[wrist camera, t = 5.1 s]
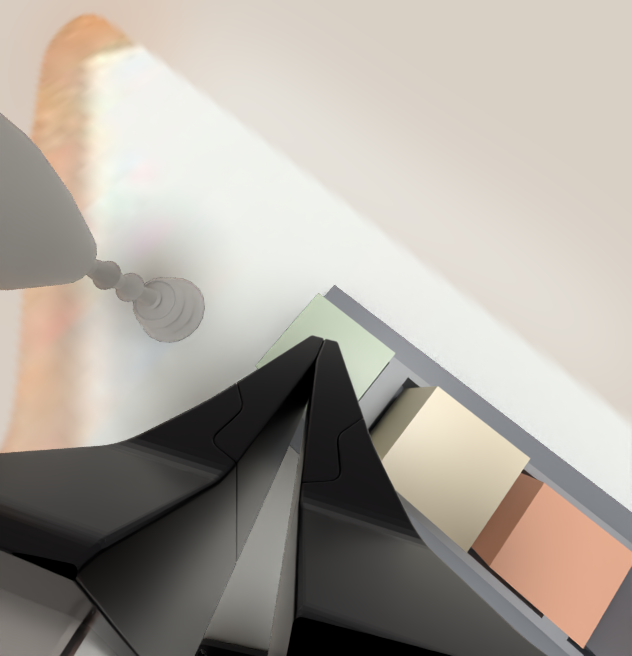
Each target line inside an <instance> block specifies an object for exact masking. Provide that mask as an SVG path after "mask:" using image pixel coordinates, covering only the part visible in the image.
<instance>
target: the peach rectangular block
mask: <svg viewBox="0 0 632 656" xmlns="http://www.w3.org/2000/svg"><path fill="white" fill-rule="evenodd" d="M471 547H472V548H473V549H474V550H475V551H476V553H477V554H478V555H479V556H480V557H481V558H482V559H483V560H484V561H485V562H486V564H487V565H488V566H489V567H490V568H491V569H493V570H494V571H495V572H496V573H497V574H498V575H499V576H501V577H502V578H503V579H504V580H505V581H506V582H507V583H509V584H510V585H511V586H512V587H513V588H514V589H515V590H517V591H518V592H519V593H520V594H521V595H522V596H523V597H525V598H526V599H527V600H528V601H529V602H530V603H531V604H533V605H534V606H535V607H536V608H537V609H538V610H539V611H541V612H542V613H543V614H544V615H545V616H546V617H547V618H549V619H550V620H551V621H552V622H553V623H554V624H555V625H557V626H558V627H559V628H560V629H561V630H562V631H563V632H564V633H566V634H567V635H568V636H569V637H570V638H571V639H572V640H574V641H575V642H576V643H577V644H578V645H579V646H580V647H582V648H584V647H585V645H586V643H587V641H588V640H589V638H590V636H591V635H592V633H593V631H594V629H595V628H596V626H597V624H598V623H599V621H600V619H601V618H602V616H603V614H604V612H605V611H606V609H607V607H608V606H609V604H610V602H611V600H612V599H613V597H614V595H615V594H616V592H617V590H618V589H619V587H620V585H621V583H622V582H623V580H624V578H625V577H626V575H627V573H628V571H629V570H630V568H631V566H632V552H631V551H630V550H629V549H628V548H626V547H625V546H624V545H623V544H621V543H620V542H619V541H618V540H616V539H615V538H614V537H612V536H611V535H610V534H609V533H607V532H606V531H605V530H604V529H602V528H601V527H600V526H599V525H597V524H596V523H595V522H593V521H592V520H591V519H590V518H588V517H587V516H586V515H585V514H583V513H582V512H581V511H580V510H578V509H577V508H576V507H574V506H573V505H572V504H571V503H569V502H568V501H567V500H566V499H564V498H563V497H562V496H561V495H559V494H558V493H557V492H555V491H554V490H553V489H552V488H550V487H549V486H548V485H547V484H545V483H544V482H541V481H539V480H537V479H534V478H532V477H530V476H527V475H525V474H522V473H520V475H519V476H518V478H517V479H516V481H515V482H514V484H513V485H512V487H511V488H510V489H509V491H508V492H507V494H506V495H505V497H504V498H503V500H502V501H501V503H500V504H499V506H498V507H497V509H496V510H495V512H494V513H493V515H492V516H491V518H490V519H489V521H488V522H487V524H486V525H485V527H484V528H483V530H482V531H481V532H480V534H479V535H478V537H477V538H476V540H475V541H474V543H473V544H472V546H471Z"/></svg>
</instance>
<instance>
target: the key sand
mask: <svg viewBox="0 0 632 656" xmlns="http://www.w3.org/2000/svg"><path fill="white" fill-rule="evenodd" d="M370 436H371V439H372V441H373V444H374V446H375V449H376V451H377V453H378V455H379V457H380V460H381V462H382V464H383V466H384V468H385V470H386V472H387V474H388V476H389V478H390V480H391V482H392V484H393V486H394V488H395V490H396V491H397V492H398V493H399V494H400V495H402V496H403V497H404V498H405V499H406V500H407V501H408V502H410V503H411V504H412V505H413V506H414V507H415V508H416V509H418V510H419V511H420V512H421V513H422V514H423V515H424V516H425V517H427V518H428V519H429V520H430V521H431V522H432V523H433V524H435V525H436V526H437V527H438V528H439V529H440V530H441V531H443V532H444V533H445V534H446V535H447V536H448V537H449V538H450V539H452V540H453V541H454V542H455V543H456V544H457V545H458V546H460V547H461V548H462V549H463V550H464V551H465V552H466V553H467V552H468V550H469V549H470V547H471V546H472V544H473V543H474V541H475V540H476V538H477V537H478V535H479V534H480V532H481V531H482V530H483V528H484V527H485V525H486V524H487V522H488V521H489V519H490V518H491V516H492V515H493V513H494V512H495V510H496V509H497V507H498V506H499V504H500V503H501V501H502V500H503V498H504V497H505V495H506V494H507V492H508V491H509V489H510V488H511V487H512V485H513V484H514V482H515V481H516V479H517V478H518V476H519V475H520V473H521V472H522V470H523V469H524V467H525V466H526V464H527V463H528V461H529V460H530V458H529V457H528V456H527V455H525V454H524V453H523V452H522V451H520V450H519V449H518V448H516V447H515V446H514V445H513V444H511V443H510V442H509V441H508V440H506V439H505V438H504V437H502V436H501V435H500V434H499V433H497V432H496V431H495V430H493V429H492V428H491V427H490V426H488V425H487V424H486V423H484V422H483V421H482V420H481V419H479V418H478V417H477V416H476V415H474V414H473V413H472V412H470V411H469V410H468V409H467V408H465V407H464V406H463V405H461V404H460V403H459V402H458V401H456V400H455V399H454V398H452V397H451V396H450V395H449V394H447V393H446V392H445V391H443V390H442V389H441V388H440V387H438V386H432V387H418V388H404V389H403V391H402V392H401V393H400V395H399V396H398V397H397V399H396V400H395V401H394V402H393V404H392V405H391V406H390V408H389V409H388V410H387V411H386V413H385V414H384V415H383V417H382V418H381V419H380V421H379V422H378V423H377V424H376V426H375V427H374V428H373V430H372V431H371V432H370Z"/></svg>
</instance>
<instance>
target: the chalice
mask: <svg viewBox="0 0 632 656" xmlns="http://www.w3.org/2000/svg"><path fill="white" fill-rule="evenodd" d="M96 255H97V248H96V243H95V240H94V238H93V236H92V234H91V232H90V230H89V228H88V226H87V224H86V222H85V220H84V218H83V216H82V214H81V212H80V210H79V208H78V207H77V205H76V203H75V201H74V199H73V197H72V195H71V193H70V192H69V190H68V189H67V187H66V186H65V185H64V183H63V182H62V180H61V179H60V177H59V176H58V175H57V173H56V172H55V170H54V169H53V167H52V166H51V165H50V163H49V162H48V160H47V159H46V158H45V156H44V155H43V153H42V152H41V150H40V149H39V148H38V147H37V146H36V145H35V144H34V143H33V142H32V141H31V139H30V138H29V137H28V136H27V135H26V134H25V133H24V132H22V131H21V130H20V129H19V128H18V127H16V126H15V125H14V124H13V123H12V122H10V121H9V120H8V119H7V118H6V117H5V116H4V115H2V114H1V113H0V290H14V289H24V288H34V287H43V286H53V285H63V284H69V283H74V282H75V281H77V280H79V279H81V278H83V277H84V276H85V275H87V276H88V277H90V278H91V279H92V280H93V282H94V284H95V286H96V287H98V288H99V289H103V290H106V289H110V288H115V289H116V294H117V296H118V297H119V298H120V299H121V300H123V301H127V302H129V301H134V302H133V310H134V314H135V316H136V318H137V320H138V321H139V323H140V324H141V325H142V327H143V329H144V331H145V332H146V333H147V334H148V335H149V336H150V337H152V338H154V339H156V340H158V341H161V342H169V343H170V342H175V341H180V340H182V339H184V338H185V337H187V336H189V335H190V334H191V333H192V332H193V331H194V330H195V329H196V328H197V327H198V325H199V324H200V322H201V320H202V318H203V313H204V308H205V307H204V299H203V296H202V294H201V292H200V290H199V289H198V288H197V287H196V286H195V285H194V284H193V283H192V282H190V281H187V280H185V279H181V278H156V279H152V280H150V281H148V282H147V283H145V284H144V283H143V280H142V278H141V277H140V276H139V275H137V274H134V273H129V274H126V275H123V274H122V273H121V270H120V268H119V266H118V265H117V264H116V263H115V262H113V261H105V262H103V261H100V260H97V259H96Z"/></svg>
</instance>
